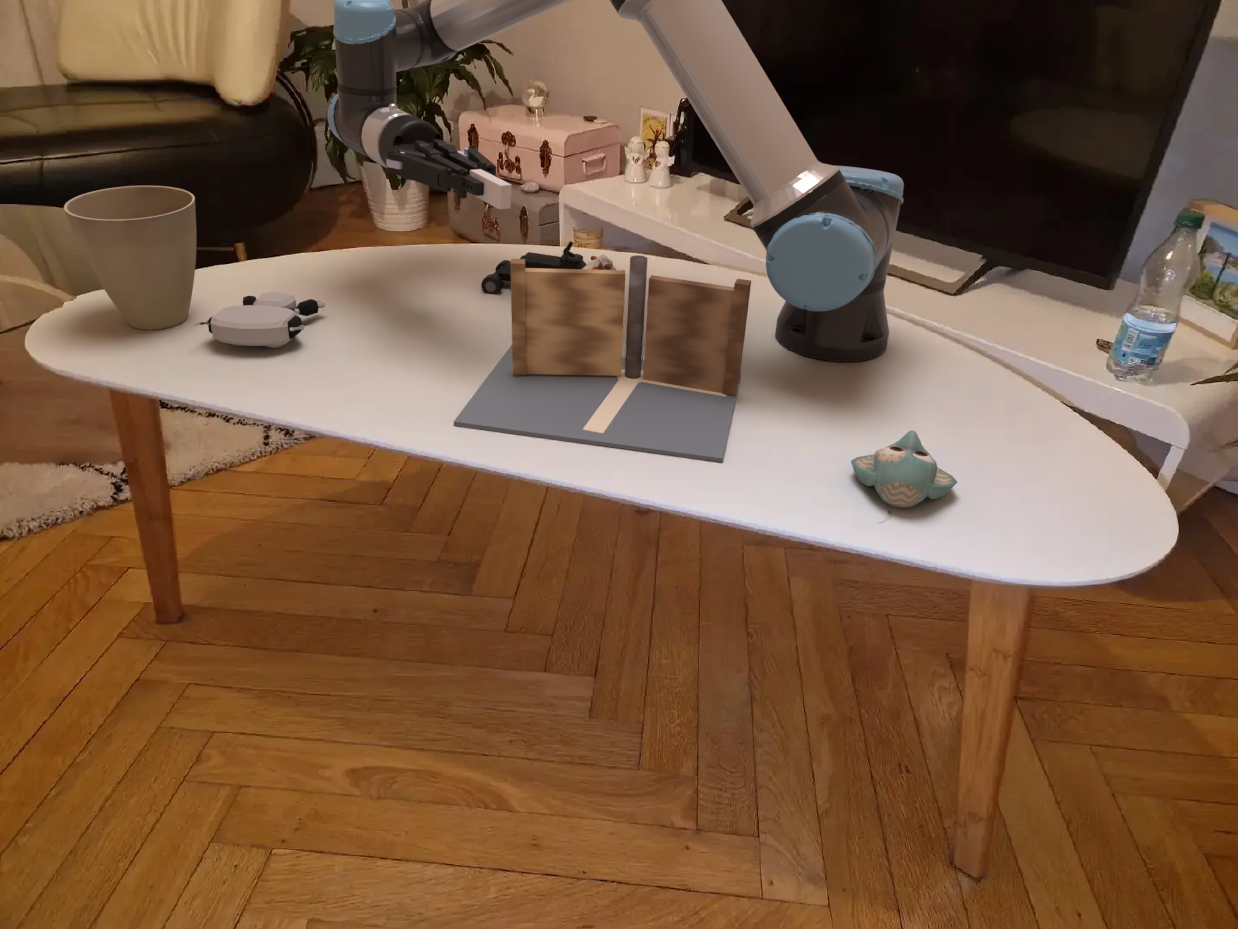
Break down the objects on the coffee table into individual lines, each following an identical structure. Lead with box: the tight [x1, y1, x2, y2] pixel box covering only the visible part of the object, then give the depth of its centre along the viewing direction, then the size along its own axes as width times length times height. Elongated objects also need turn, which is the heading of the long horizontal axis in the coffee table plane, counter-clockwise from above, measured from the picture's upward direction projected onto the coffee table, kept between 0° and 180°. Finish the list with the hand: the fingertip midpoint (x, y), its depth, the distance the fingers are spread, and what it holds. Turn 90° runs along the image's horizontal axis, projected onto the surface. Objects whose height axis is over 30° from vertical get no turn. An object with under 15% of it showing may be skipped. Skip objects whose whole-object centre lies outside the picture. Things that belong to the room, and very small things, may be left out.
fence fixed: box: [624, 255, 752, 398], centre depth 110 cm, size 14×2×16 cm, turn 73°
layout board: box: [453, 344, 742, 463], centre depth 110 cm, size 30×22×1 cm
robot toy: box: [194, 291, 326, 349], centre depth 122 cm, size 12×4×15 cm
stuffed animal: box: [850, 429, 958, 509], centre depth 95 cm, size 11×7×12 cm
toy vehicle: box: [480, 241, 588, 296], centre depth 139 cm, size 8×15×9 cm, turn 78°
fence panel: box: [510, 258, 626, 376], centre depth 111 cm, size 13×2×14 cm, turn 93°
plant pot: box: [63, 185, 197, 331], centre depth 121 cm, size 15×15×16 cm
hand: (505, 196), depth 106 cm, fingers closed
